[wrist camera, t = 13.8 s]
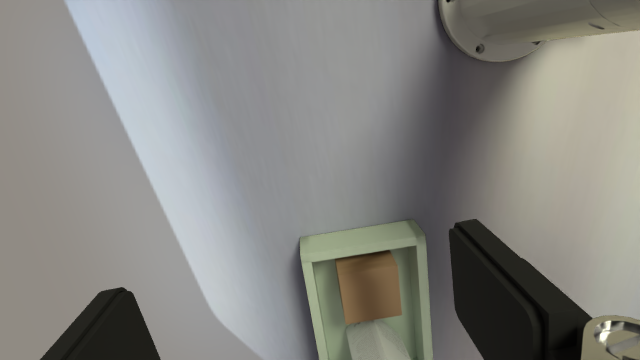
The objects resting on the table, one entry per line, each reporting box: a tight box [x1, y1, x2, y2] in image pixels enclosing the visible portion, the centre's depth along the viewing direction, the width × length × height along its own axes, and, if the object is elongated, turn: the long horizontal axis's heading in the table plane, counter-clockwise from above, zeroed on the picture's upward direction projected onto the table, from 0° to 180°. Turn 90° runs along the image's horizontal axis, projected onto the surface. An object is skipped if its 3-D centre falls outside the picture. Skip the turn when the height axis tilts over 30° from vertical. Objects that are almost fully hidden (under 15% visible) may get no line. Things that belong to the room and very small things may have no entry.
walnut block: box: [335, 250, 402, 324], centre depth 39 cm, size 6×6×5 cm
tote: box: [300, 219, 433, 360], centre depth 42 cm, size 13×20×4 cm, turn 8°
